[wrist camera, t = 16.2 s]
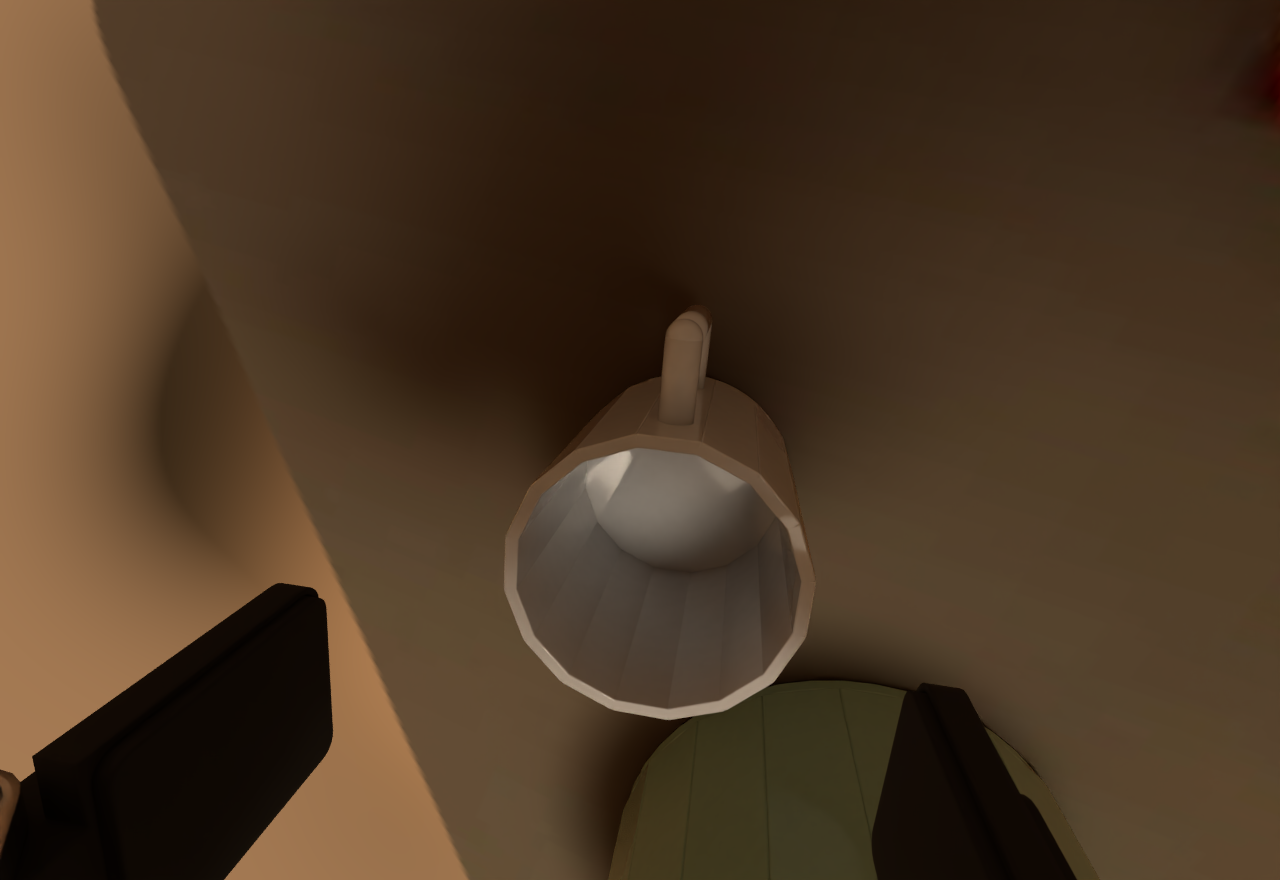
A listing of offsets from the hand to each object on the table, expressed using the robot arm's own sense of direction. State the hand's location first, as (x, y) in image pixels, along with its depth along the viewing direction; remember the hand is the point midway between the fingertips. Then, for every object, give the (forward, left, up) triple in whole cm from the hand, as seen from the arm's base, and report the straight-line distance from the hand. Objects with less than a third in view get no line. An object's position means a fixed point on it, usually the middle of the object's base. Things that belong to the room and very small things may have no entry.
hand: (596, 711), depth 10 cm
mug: (-1, 0, -11) cm, 11 cm away
